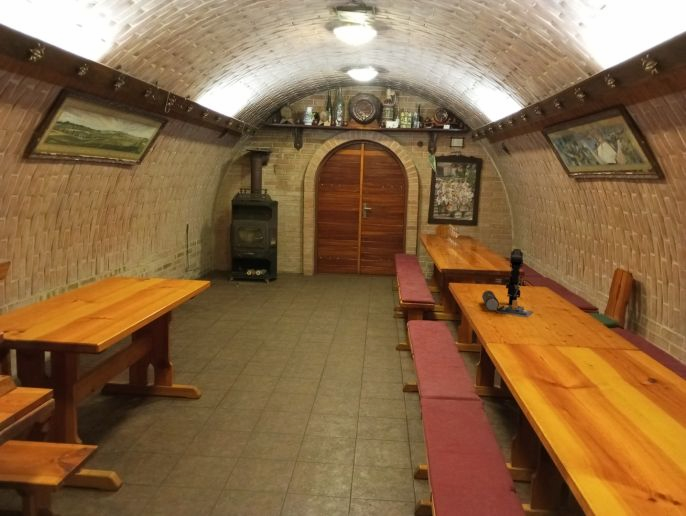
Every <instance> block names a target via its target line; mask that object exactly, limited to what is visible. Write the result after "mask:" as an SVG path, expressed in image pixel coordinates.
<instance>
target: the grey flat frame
mask: <svg viewBox="0 0 686 516" xmlns="http://www.w3.org/2000/svg"><path fill="white" fill-rule="evenodd" d="M503 307H505V305H501V306H499V307H498V308H497V309H496V310H497V311H503V312H510V313H516V314H522V315H527V313H520V312H514V311H508V310H502V309H501V308H503Z"/></svg>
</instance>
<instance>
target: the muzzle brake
mask: <svg viewBox="0 0 686 516" xmlns="http://www.w3.org/2000/svg"><path fill="white" fill-rule="evenodd" d="M481 296H482V297H481V298H482V300H483V303H484V307H485V309H486V310H488V311H492V312H493V311H495V310H497V309H498V308H499V307H500V302H499V300H498V299H497V296H496V294H495V293H494V292H493V291H491V290H485V291H484V292H483V293H482V295H481Z"/></svg>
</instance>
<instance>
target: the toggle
mask: <svg viewBox="0 0 686 516" xmlns="http://www.w3.org/2000/svg"><path fill="white" fill-rule="evenodd" d="M518 306H519V300H517V301H516V300H513V301H512V309H517V308H518Z"/></svg>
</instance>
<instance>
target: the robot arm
mask: <svg viewBox="0 0 686 516" xmlns="http://www.w3.org/2000/svg"><path fill="white" fill-rule="evenodd" d="M523 258H524V252H522V250H521V249H519V248H513V250H512V251H511V252H510V262H509V267H510V268H511V269H510V275H509V276H508V277H502V279H501V283H502V285H505V289H507V294H506V295H507V297H508V303H506V305H508V306H510V305H512V301H513V300H516V301H518V298H521V289H520V287H522V286H523V282H522V281H520V279H521V276H520V275H521V268H522V267H524V259H523Z"/></svg>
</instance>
